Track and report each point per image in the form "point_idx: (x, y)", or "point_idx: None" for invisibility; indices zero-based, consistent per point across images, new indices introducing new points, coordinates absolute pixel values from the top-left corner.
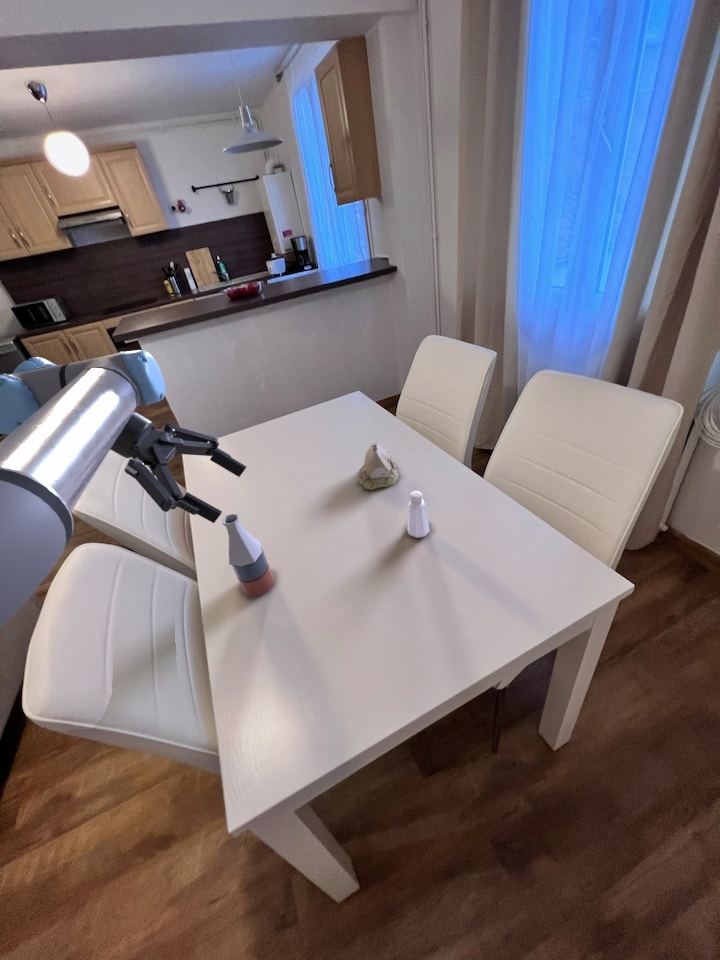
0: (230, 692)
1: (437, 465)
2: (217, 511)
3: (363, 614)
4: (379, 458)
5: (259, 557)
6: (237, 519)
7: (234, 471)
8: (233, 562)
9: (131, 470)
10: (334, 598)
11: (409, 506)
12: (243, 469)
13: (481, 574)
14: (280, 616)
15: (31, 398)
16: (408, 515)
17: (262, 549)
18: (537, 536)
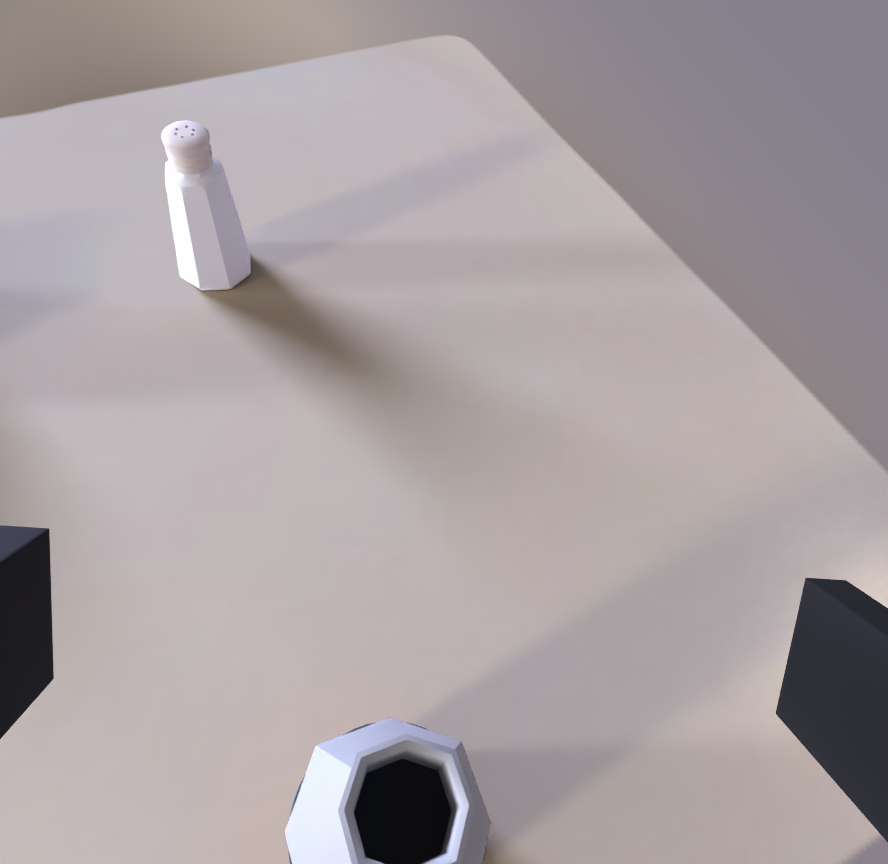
0: (846, 807)
1: None
2: (858, 597)
3: (530, 422)
4: None
5: (421, 727)
6: (417, 737)
7: (6, 691)
8: None
9: None
10: (472, 502)
11: (199, 190)
12: (41, 558)
13: (412, 180)
14: (548, 685)
15: None
16: (198, 233)
17: (361, 726)
18: (311, 77)
